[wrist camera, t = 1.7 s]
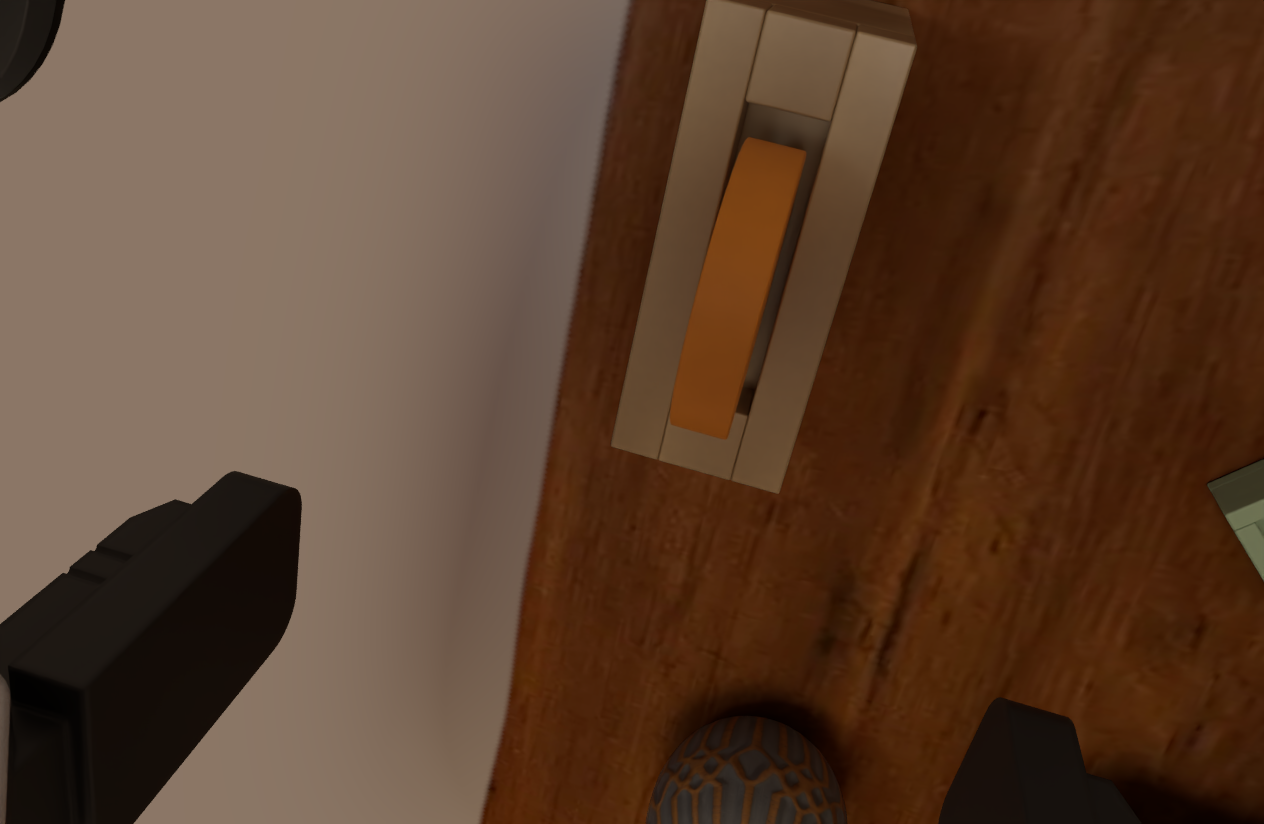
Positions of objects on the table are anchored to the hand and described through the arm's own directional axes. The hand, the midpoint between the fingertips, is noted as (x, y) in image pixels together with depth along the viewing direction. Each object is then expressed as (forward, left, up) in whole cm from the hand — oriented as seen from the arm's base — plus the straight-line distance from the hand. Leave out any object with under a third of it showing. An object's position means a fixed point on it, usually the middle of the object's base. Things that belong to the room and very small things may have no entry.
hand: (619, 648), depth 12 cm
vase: (+17, -12, -21) cm, 30 cm away
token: (0, 0, -11) cm, 11 cm away
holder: (0, 0, -21) cm, 21 cm away
